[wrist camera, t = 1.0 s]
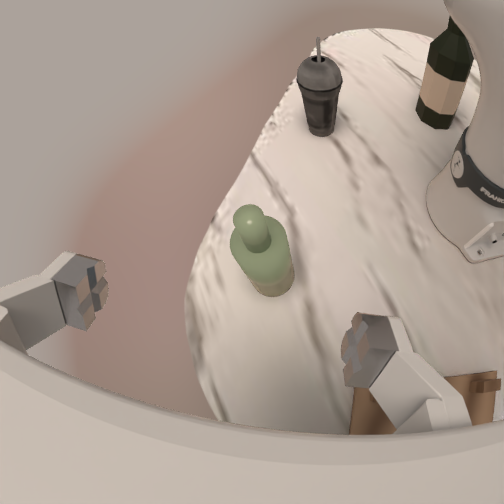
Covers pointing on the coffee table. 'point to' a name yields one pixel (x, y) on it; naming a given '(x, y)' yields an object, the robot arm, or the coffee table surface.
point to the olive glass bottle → (262, 251)
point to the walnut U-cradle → (469, 386)
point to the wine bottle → (444, 77)
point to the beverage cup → (320, 91)
